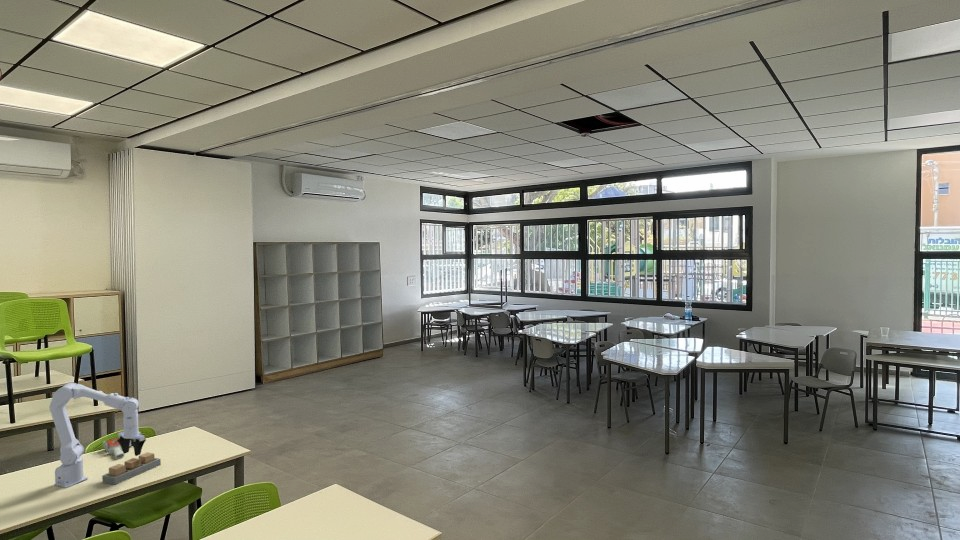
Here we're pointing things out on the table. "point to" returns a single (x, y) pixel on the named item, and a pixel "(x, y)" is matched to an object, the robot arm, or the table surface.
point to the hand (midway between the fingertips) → (131, 453)
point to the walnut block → (132, 463)
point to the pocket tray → (121, 474)
